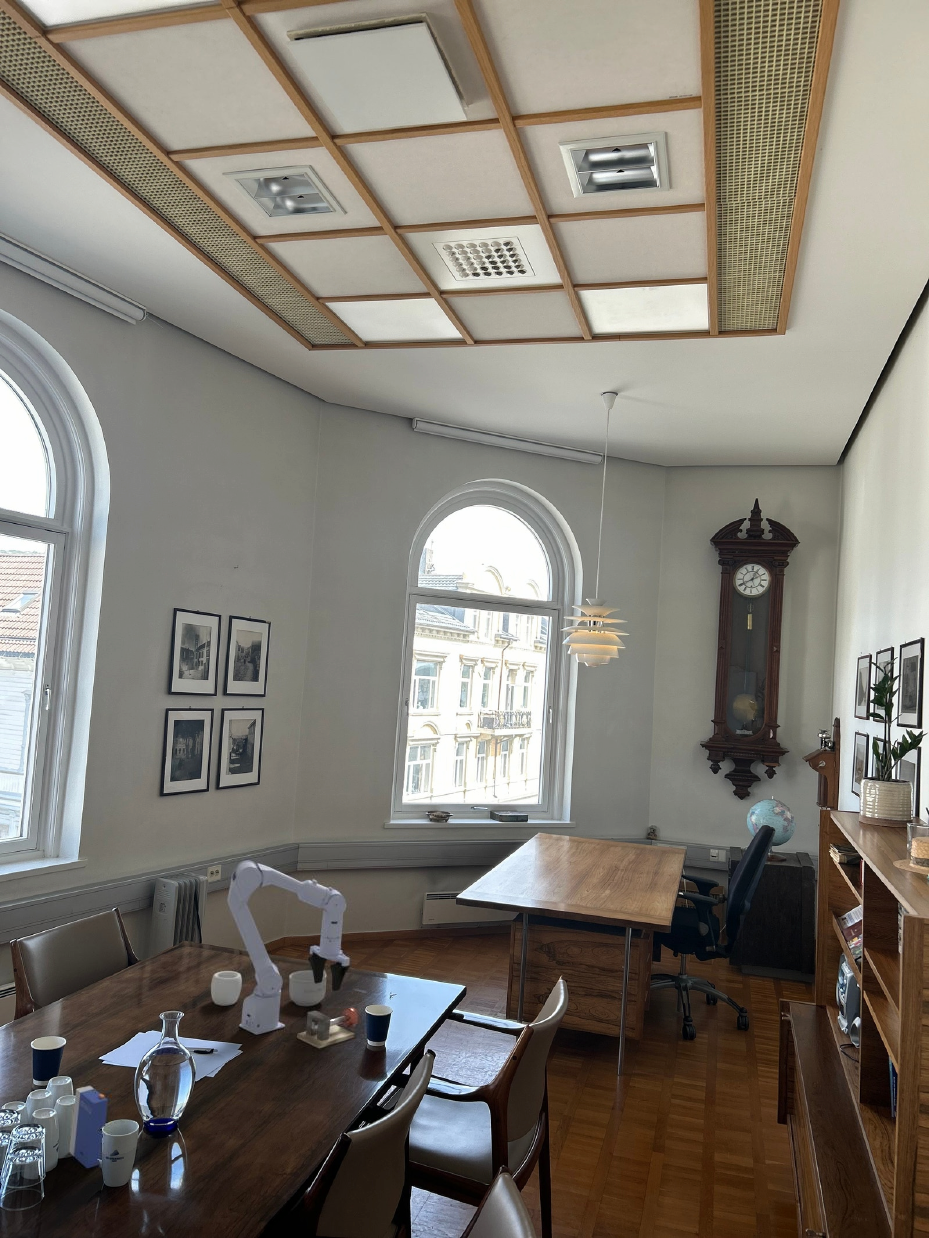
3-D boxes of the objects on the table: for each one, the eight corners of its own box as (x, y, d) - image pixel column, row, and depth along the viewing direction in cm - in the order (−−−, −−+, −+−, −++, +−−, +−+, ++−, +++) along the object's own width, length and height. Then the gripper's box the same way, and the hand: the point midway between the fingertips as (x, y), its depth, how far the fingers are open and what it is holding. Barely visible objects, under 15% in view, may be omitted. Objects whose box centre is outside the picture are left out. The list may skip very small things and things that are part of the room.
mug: (239, 1007, 254) (242, 979, 255) (208, 1008, 252) (211, 979, 253) (240, 993, 266) (242, 966, 266) (210, 993, 264) (213, 966, 264)
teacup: (304, 1012, 254) (307, 983, 255) (279, 1002, 261) (281, 973, 262) (339, 1001, 265) (342, 973, 266) (314, 991, 272) (316, 964, 273)
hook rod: (317, 1040, 232) (319, 1021, 232) (306, 1034, 235) (307, 1016, 235) (358, 1027, 242) (359, 1010, 243) (346, 1022, 245) (348, 1005, 246)
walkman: (101, 1163, 168) (108, 1097, 169) (87, 1168, 166) (93, 1101, 167) (83, 1147, 174) (89, 1082, 175) (68, 1151, 172) (75, 1086, 173)
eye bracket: (319, 1048, 229) (321, 1022, 230) (297, 1037, 235) (299, 1012, 236) (354, 1037, 238) (356, 1012, 239) (332, 1027, 244) (334, 1003, 245)
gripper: (359, 939, 247) (355, 990, 246) (325, 927, 257) (321, 976, 255) (340, 943, 242) (335, 995, 240) (305, 931, 251) (301, 981, 250)
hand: (326, 986), depth 248 cm, fingers open, 7 cm apart
